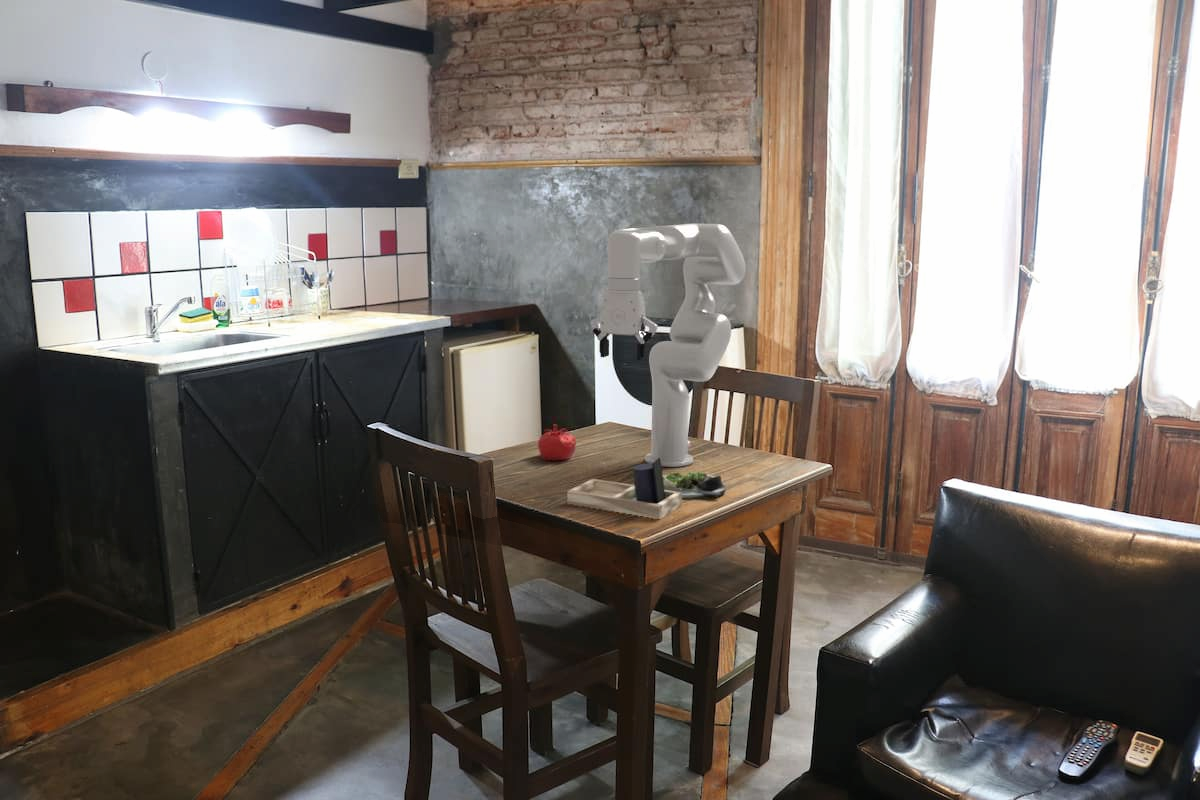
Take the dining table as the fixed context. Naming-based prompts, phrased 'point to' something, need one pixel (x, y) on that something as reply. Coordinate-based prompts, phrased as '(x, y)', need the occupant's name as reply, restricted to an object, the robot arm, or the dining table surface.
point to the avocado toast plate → (694, 485)
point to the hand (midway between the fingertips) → (622, 358)
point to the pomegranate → (556, 445)
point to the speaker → (649, 482)
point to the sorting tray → (621, 499)
